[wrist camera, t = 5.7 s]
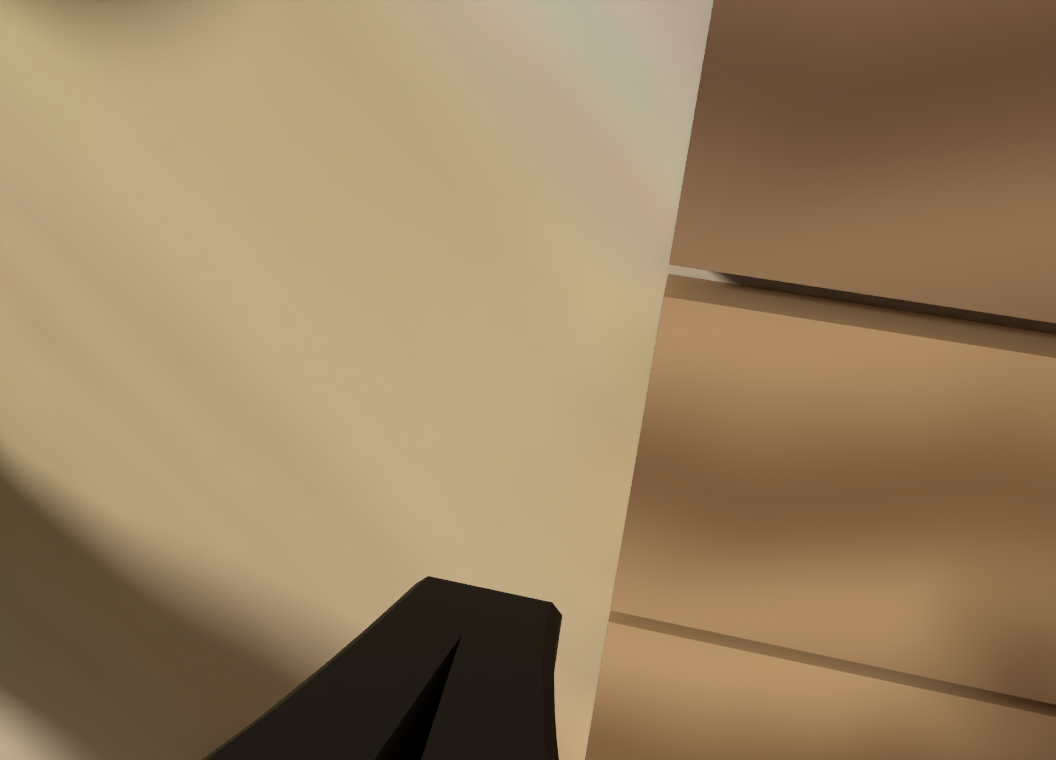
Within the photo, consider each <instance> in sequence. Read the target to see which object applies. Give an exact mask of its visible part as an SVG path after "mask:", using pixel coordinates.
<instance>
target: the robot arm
mask: <svg viewBox="0 0 1056 760" xmlns="http://www.w3.org/2000/svg"><path fill="white" fill-rule="evenodd" d="M561 620H562V615H561V613H560V612H559V611H558V610H557V608H556V607H555V606H554V604H553V603H552V602H547V601H542V600H538V599H533V598H528V597H523V596H519V595H514V594H509V593H505V592H500V591H495V590H491V589H486V588H481V587H476V586H472V585H467V584H462V583H458V582H453V581H448V580H443V579H439V578H434V577H429V576H428V577H426V578H424V579H423V580H421V581H420V582H418V583H416V584H415V585H414V586H413V587H412V588H411V589H410V590H409V591H408V592H406V593H405V594H404V595H403V596H402V597H401V598H400V599H399V600H398V601H397V602H396V603H394V604H393V605H392V606H391V607H390V608H389V609H388V610H387V611H386V612H384V613H383V614H382V615H381V616H380V617H379V618H378V619H377V620H376V621H374V622H373V623H372V624H371V625H370V626H369V627H368V628H367V629H365V630H364V631H363V632H362V633H361V634H360V635H359V636H357V637H356V638H355V639H354V640H353V641H352V642H350V643H349V644H348V645H347V646H346V647H345V648H344V649H342V650H341V651H340V652H339V653H338V654H337V655H335V656H334V657H333V658H332V659H331V660H330V661H328V662H327V663H326V664H325V665H324V666H322V667H321V668H320V669H319V670H317V671H316V672H315V673H314V674H312V675H311V676H310V677H309V678H308V679H306V680H305V681H304V682H303V683H301V684H300V685H299V686H298V687H296V688H295V689H294V690H293V691H292V692H290V693H289V694H288V695H287V696H285V697H284V698H283V699H282V700H281V701H279V702H278V703H277V704H276V705H274V706H273V707H272V708H271V709H269V710H268V711H267V712H266V713H264V714H263V715H262V716H261V717H259V718H258V719H257V720H255V721H254V722H253V723H251V724H250V725H249V726H248V727H246V728H245V729H243V730H242V731H241V732H239V733H238V734H237V735H235V736H234V737H233V738H231V739H230V740H229V741H227V742H226V743H224V744H223V745H222V746H220V747H219V748H218V749H216V750H215V751H214V752H212V753H211V754H209V755H208V756H207V757H205V758H204V759H203V760H559V757H558V748H557V738H556V724H555V703H554V669H555V662H556V655H557V648H558V641H559V634H560V627H561Z"/></svg>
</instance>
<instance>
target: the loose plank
mask: <svg viewBox="0 0 1056 760" xmlns="http://www.w3.org/2000/svg"><path fill="white" fill-rule="evenodd" d="M669 264H670V265H676V266H683V267H689V268H696V269H702V270H709V271H716V272H722V273H729V274H735V275H742V276H748V277H755V278H762V279H768V280H775V281H781V282H788V283H794V284H801V285H807V286H814V287H821V288H827V289H834V290H840V291H847V292H853V293H860V294H867V295H873V296H880V297H886V298H893V299H899V300H906V301H913V302H919V303H926V304H932V305H939V306H945V307H952V308H958V309H965V310H972V311H978V312H985V313H991V314H998V315H1004V316H1011V317H1018V318H1024V319H1031V320H1037V321H1044V322H1050V323H1056V0H714V2H713V8H712V14H711V20H710V25H709V31H708V37H707V43H706V49H705V55H704V61H703V67H702V73H701V79H700V85H699V90H698V96H697V102H696V108H695V114H694V120H693V126H692V132H691V138H690V144H689V150H688V155H687V161H686V167H685V173H684V179H683V185H682V191H681V197H680V203H679V209H678V215H677V220H676V226H675V232H674V238H673V244H672V250H671V256H670V262H669Z"/></svg>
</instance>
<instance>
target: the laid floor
mask: <svg viewBox="0 0 1056 760" xmlns="http://www.w3.org/2000/svg"><path fill="white" fill-rule="evenodd" d="M585 760H1056V334H1053V333H1047V332H1040V331H1034V330H1027V329H1021V328H1014V327H1008V326H1001V325H995V324H988V323H982V322H975V321H969V320H962V319H956V318H949V317H943V316H936V315H930V314H923V313H917V312H910V311H904V310H897V309H891V308H884V307H878V306H871V305H865V304H858V303H852V302H845V301H839V300H832V299H826V298H819V297H813V296H806V295H800V294H793V293H787V292H780V291H774V290H767V289H761V288H754V287H748V286H741V285H735V284H729V283H722V282H716V281H709V280H703V279H696V278H690V277H683V276H677V275H670V274H668V279H667V283H666V288H665V293H664V297H663V303H662V309H661V315H660V321H659V327H658V333H657V339H656V344H655V350H654V356H653V362H652V368H651V374H650V380H649V386H648V392H647V398H646V403H645V409H644V415H643V421H642V427H641V433H640V439H639V445H638V451H637V457H636V462H635V468H634V474H633V480H632V486H631V492H630V498H629V504H628V510H627V515H626V521H625V527H624V533H623V539H622V545H621V551H620V557H619V563H618V569H617V574H616V580H615V586H614V592H613V598H612V604H611V611H610V616H609V622H608V628H607V633H606V639H605V645H604V651H603V657H602V663H601V669H600V675H599V681H598V687H597V692H596V698H595V704H594V710H593V716H592V722H591V728H590V734H589V740H588V746H587V751H586V757H585Z"/></svg>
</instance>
